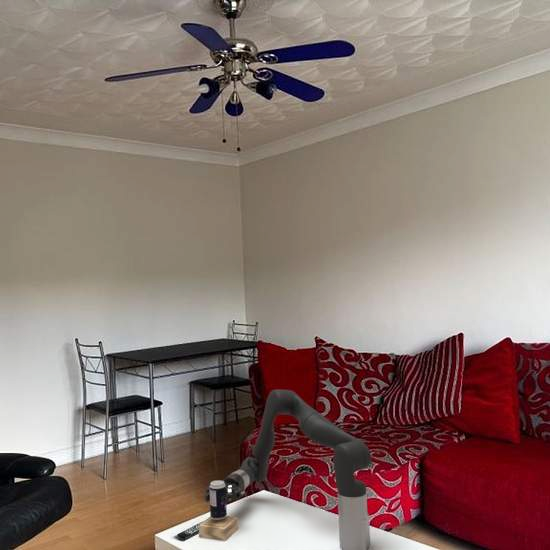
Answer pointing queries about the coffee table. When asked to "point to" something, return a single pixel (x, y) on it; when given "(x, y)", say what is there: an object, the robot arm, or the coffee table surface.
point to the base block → (218, 528)
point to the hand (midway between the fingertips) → (214, 499)
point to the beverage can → (217, 500)
